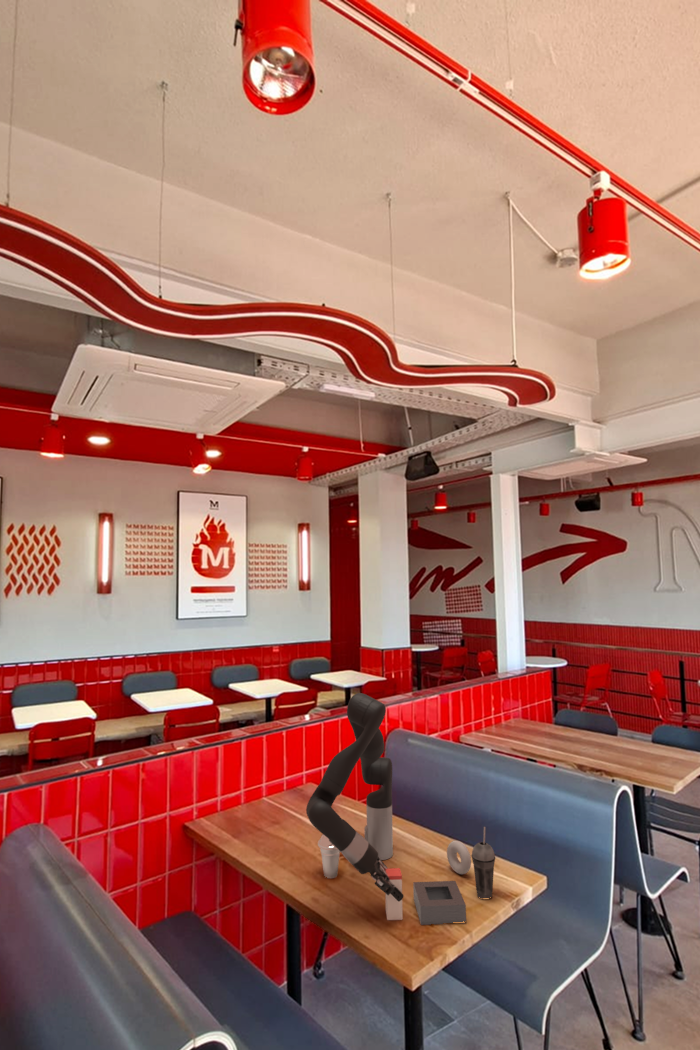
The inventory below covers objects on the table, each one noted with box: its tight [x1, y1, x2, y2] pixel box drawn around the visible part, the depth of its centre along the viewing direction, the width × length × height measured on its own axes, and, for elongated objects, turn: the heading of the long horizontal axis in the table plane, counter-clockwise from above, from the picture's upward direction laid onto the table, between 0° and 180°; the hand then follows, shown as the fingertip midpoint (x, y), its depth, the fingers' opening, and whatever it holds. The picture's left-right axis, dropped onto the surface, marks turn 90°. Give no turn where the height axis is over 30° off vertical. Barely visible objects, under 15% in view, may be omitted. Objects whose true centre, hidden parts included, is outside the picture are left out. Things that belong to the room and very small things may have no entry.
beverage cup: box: [471, 826, 496, 899], centre depth 177 cm, size 7×7×20 cm
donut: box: [446, 840, 472, 875], centre depth 191 cm, size 10×4×10 cm, turn 34°
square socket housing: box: [412, 880, 467, 926], centre depth 169 cm, size 13×13×5 cm
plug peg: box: [384, 867, 403, 921], centre depth 167 cm, size 4×4×12 cm
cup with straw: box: [317, 834, 341, 879], centre depth 191 cm, size 8×9×20 cm
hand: (400, 893), depth 167 cm, fingers closed on plug peg, 4 cm apart
